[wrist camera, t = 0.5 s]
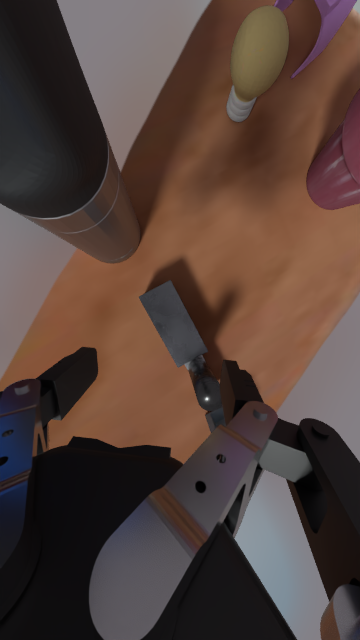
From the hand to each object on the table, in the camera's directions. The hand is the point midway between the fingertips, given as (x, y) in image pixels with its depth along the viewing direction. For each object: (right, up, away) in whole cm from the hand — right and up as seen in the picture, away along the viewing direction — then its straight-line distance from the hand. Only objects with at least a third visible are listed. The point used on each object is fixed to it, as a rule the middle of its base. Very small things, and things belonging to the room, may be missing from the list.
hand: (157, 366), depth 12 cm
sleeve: (0, +3, +20) cm, 21 cm away
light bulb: (+10, +35, +18) cm, 41 cm away
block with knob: (+2, -1, +20) cm, 20 cm away
